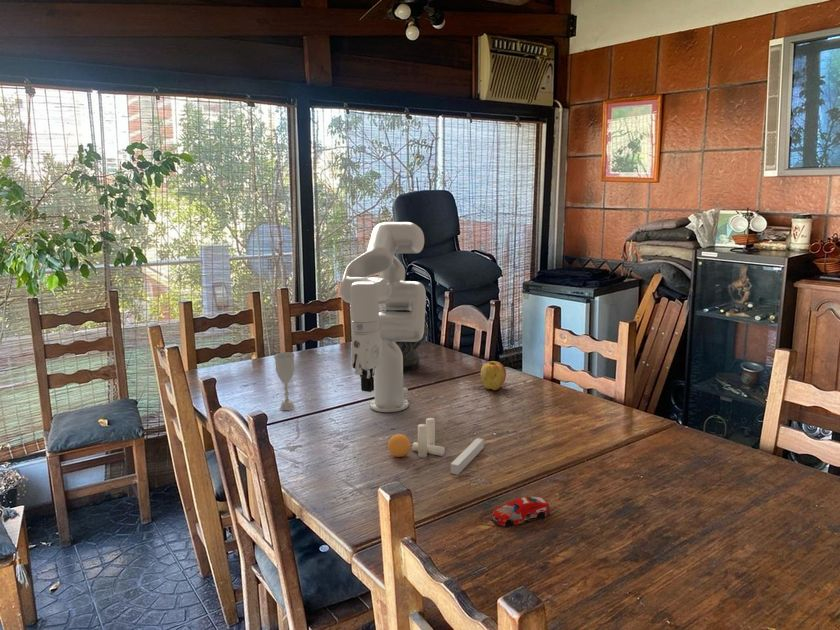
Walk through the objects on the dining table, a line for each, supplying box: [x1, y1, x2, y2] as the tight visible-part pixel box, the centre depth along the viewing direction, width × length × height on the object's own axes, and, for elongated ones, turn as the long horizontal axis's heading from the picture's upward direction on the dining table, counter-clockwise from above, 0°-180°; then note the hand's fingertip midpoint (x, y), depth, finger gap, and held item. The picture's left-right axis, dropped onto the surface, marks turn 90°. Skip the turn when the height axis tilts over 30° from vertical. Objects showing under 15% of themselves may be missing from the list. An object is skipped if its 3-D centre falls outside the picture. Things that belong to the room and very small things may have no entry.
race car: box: [491, 496, 551, 528], centre depth 134 cm, size 13×5×4 cm, turn 111°
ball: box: [387, 433, 411, 458], centre depth 166 cm, size 6×6×6 cm
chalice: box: [273, 351, 296, 411], centre depth 203 cm, size 7×7×18 cm
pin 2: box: [425, 417, 436, 446], centre depth 170 cm, size 2×2×8 cm
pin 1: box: [417, 423, 428, 459], centre depth 166 cm, size 2×2×8 cm
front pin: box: [411, 441, 446, 457], centre depth 168 cm, size 2×2×8 cm
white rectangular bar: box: [450, 437, 485, 475], centre depth 163 cm, size 18×2×2 cm, turn 154°
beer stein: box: [388, 310, 429, 372], centre depth 249 cm, size 16×19×25 cm
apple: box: [480, 360, 507, 391], centre depth 221 cm, size 9×9×10 cm
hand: (367, 390), depth 174 cm, fingers closed
